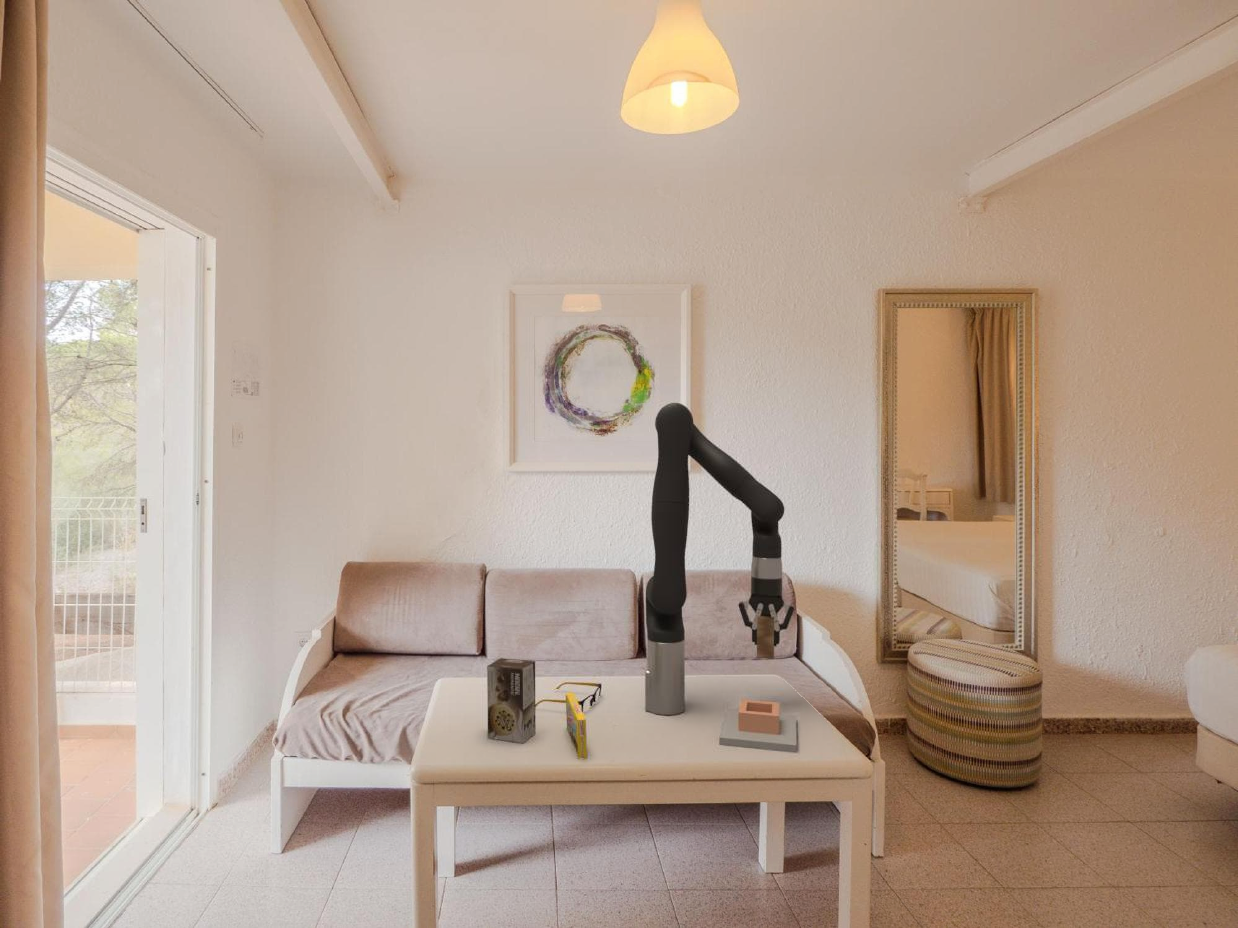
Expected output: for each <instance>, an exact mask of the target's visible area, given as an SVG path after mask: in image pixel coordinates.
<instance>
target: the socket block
mask: <svg viewBox="0 0 1238 928" xmlns="http://www.w3.org/2000/svg"><path fill="white" fill-rule="evenodd" d="M738 708H739V709H738ZM738 708H726V711H725V715H724V719H723V723H722V726H721V730H720V732H719V738H718V741H719V742H718V744H719V745H721V746H722V745H723V746H730V747H731V746H732V747H739V748H740V747H741V748H750V749H757V750H758V749H760V750H766V751H767V750H768V751H778V752H779V751H780V752H786V751H787V752H788V753H797V750H798V749H797V748H798V747H797V714H795V713H794V714H793V713H785V712H784V713H783V712H782V713H781V712H780V702H775V701H763V700H752V699H751V700H750V699H748V700H747V699H741V700H740V703H739V707H738ZM787 752H786V753H787Z"/></svg>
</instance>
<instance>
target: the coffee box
mask: <svg viewBox="0 0 1238 928" xmlns="http://www.w3.org/2000/svg"><path fill="white" fill-rule="evenodd" d="M486 671H487V672H486V677H487V678H486V679H487V680H486V681H487V690H486V691H487V695H486V696H487V739H489V738H497V739H501V740H500V741H504V740H507V741H506V742H512V741H515V742H514V743H519V742H520V744H524V743H526V742H527V741H528V740H529V739H531V738H532V737H533V736H534V735H535V734H536V732H537V731H536V728H537V727H536V707H535V704H536V661H535V660H526V659H515V658H502V657H501V658H498V659H496V660H494V661H493V662H491V663H490V664H488V665H487V666H486ZM532 735H533V736H532ZM531 736H532V737H531ZM525 741H526V742H525Z"/></svg>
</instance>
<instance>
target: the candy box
mask: <svg viewBox="0 0 1238 928" xmlns="http://www.w3.org/2000/svg"><path fill="white" fill-rule="evenodd" d="M565 700H566V703H565V712H566V713H565V714H566V715H565V716H566V717H565V718H566V729H567V731H568V734H569V736H570V739H571V742H572V745H573V747H574V749H576V750H575V752H576V754H578V755H577V757H578V759H579V760H581V759H580V758H585V759H587V758H588V748H587V747H588V744H587V718H586V716H585V713H584V714H583V712H584V711H583V712H582V710H581V708H582V707H580V706H581V705H579V704H578V702H577V701H578V700H577V698H576V696H575V694H574V692H570V693H569V692H568V693H566V694H565Z"/></svg>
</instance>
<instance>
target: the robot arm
mask: <svg viewBox="0 0 1238 928" xmlns="http://www.w3.org/2000/svg"><path fill="white" fill-rule="evenodd" d="M654 426H655V430H656V434H657V449H658V450H657V456H658V457H657V464H656V465H657V466H656V470H655V476H654V481H653V487H652V496H651V511H650V512H651V513H650V514H651V516H650V518H651V529H652V531H651V532H652V539H653V545H654V546H653V547H654V565H653V566H654V568H653V575H652V576H651V577H650V578H649V580H648V582H647V583H646V587H645V624H646V636H647V637H646V639H647V642H646V645H647V649H646V651H647V656H646V658H647V659H646V660H647V661H646V662H647V668H646V670H645V675H644V678H645V679H644V680H645V682H644V685H645V686H644V688H645V689H644V690H645V691H644V692H645V695H644V697H645V700H644V701H645V702H644V703H645V704H644V705H645V707H644V708H645V712H651V713H653V714H657V715H661V716H663V715H664V716H672V715H679V714H681V713H684V711H685V710H686V709H685V705H686V704H685V703H686V700H685V698H686V696H685V692H686V690H685V689H686V687H685V686H686V683H685V682H686V681H685V679H686V678H685V677H686V676H685V675H686V674H685V673H686V671H685V669H686V667H685V665H686V662H685V661H686V659H685V657H686V656H685V653H686V652H685V644H686V643H685V632H686V631H685V627H684V619H683V607H684V605H685V604H686V600H687V598H688V597H687V596H688V595H687V593H688V592H687V591H688V590H687V580H686V578H687V575H686V549H687V548H686V547H687V541H688V531H689V530H688V528H689V519H690V476H689V475H690V474H689V473H690V472H689V457H690V458H692V459H693V460H694V461H696V463H697V464H698V465H700V467H701V468H703V469H704V470H705V472H706V473H708V475H709V476H711V477H712V479H713V480H715V482H717V483H718V484H719V485H720V486H721V487H723V489H724V490H726V491H727V492H728V493H729V494H730V495H731V496H732V497H734V498H735V499H737V500H738V501H739V502H741V503H743V504H744V506H745V507H746V508H747V509H748V510H750V518H751V528H752V529H751V530H752V549H751V550H752V559H751V563H750V564H751V565H750V569H751V570H750V597H749V598H748V600H745V601H742V600H740V601H739V602H738V608H739V609H738V610H739V612H740V615H741V618H742V620H743V624H744V626H745V627H748V628H749V629H751V642H752V643H754V645H755V646H757V616H770V617H774V647H777V645H779V644H780V637H781V636H780V632H781V631H782V630H787V629H788V627H789V625H790V622H791V619H792V617H793V613H794V611H795V606H794V605H793V604H789V603H787V602H784V601H785V600H784V599H783V573H784V572H783V562H782V552H783V551H782V550H783V549H782V537H781V535H780V532H779V522H780V521H781V520H782V518H783V516H784V515H785V505H784V503H783V501H782V500H781V498H780V497H778V496H777V495H776V494H775V493H773V491H772V490H770V489H769V488H767V487H766V486H765V485H764V484H762V483H760V482H759V481H758V480H757V479H756V478H755V477H754V476H753V475H752V474H751V473H750V472H749V471H748V470H747V469H746V468H745V467H743V466H742V465H741V464H740V463H739V462H738V461H737V460H735V459H734V458H733V457H732V456H730V455H729V454H728V453H727V452H725V451H724V450H722V449H721V448H719V447H718V446H717V445H715V444H714V443H713V442H712V441H710V439H708V438H707V437H706V436H705V434H703V433H702V432H701V431H700V430H699V428H698V427H697V426H696V424H695V423H694V417H693V414H692V412H691V410H690V409H689V408H688V407H687V406H686V405H685V404H682V403H679V402H671V403H670V402H669V403H667V404H666V405H664V406H663V407H661V409H659V410H658V413H657V414H656V417H655V421H654ZM749 606H750V607H751V608H752V610H753V611H754V613H755V615H754V617H753V618H754V619H753V621H751V620H750V618H749V617H750V616H749V614H748V609H749ZM782 608H784V610H783V611H784V613H785V617H784V619H783V622H781V623H780V622H779V616H778V613H779V612H780V611H781V610H782Z"/></svg>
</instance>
